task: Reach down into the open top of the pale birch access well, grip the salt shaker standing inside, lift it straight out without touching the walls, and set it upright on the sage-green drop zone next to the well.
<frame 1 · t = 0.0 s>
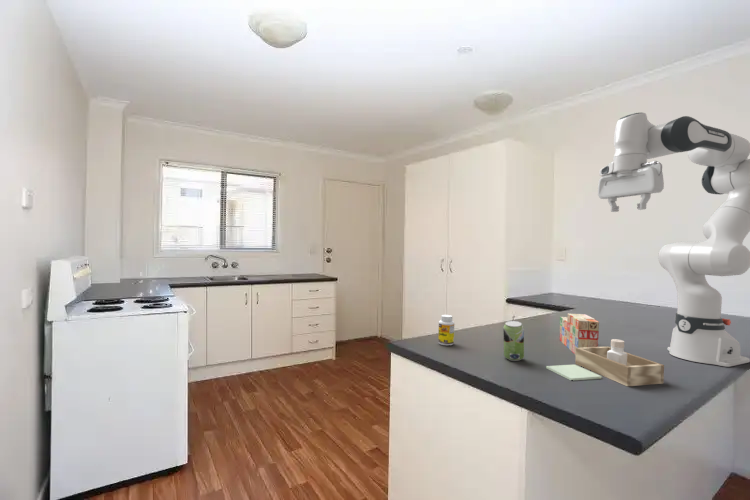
hand: (627, 210, 117), 48 cm above the counter, fingers open, 8 cm apart
stack of blocks: (576, 349, 133), on the counter
beverage can: (513, 360, 118), on the counter
access well: (616, 373, 108), on the counter
salt shaker: (616, 373, 108), resting in access well
supplement bottle: (445, 344, 134), on the counter
drop zone: (572, 373, 107), on the counter
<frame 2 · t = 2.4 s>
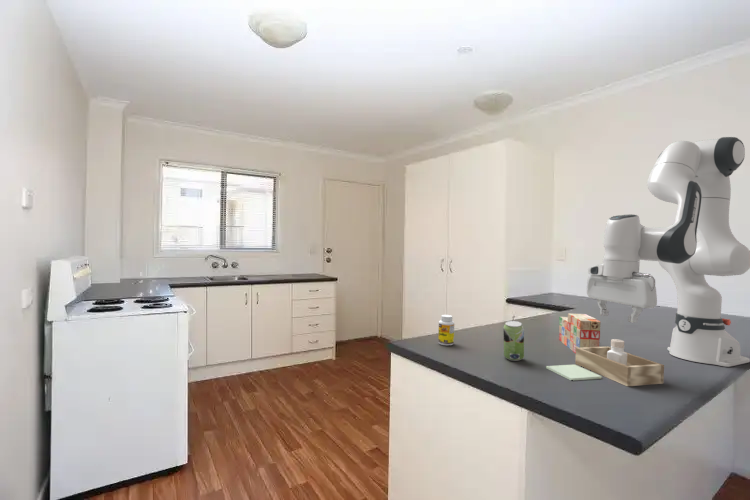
hand: (617, 318, 107), 16 cm above the counter, fingers open, 8 cm apart
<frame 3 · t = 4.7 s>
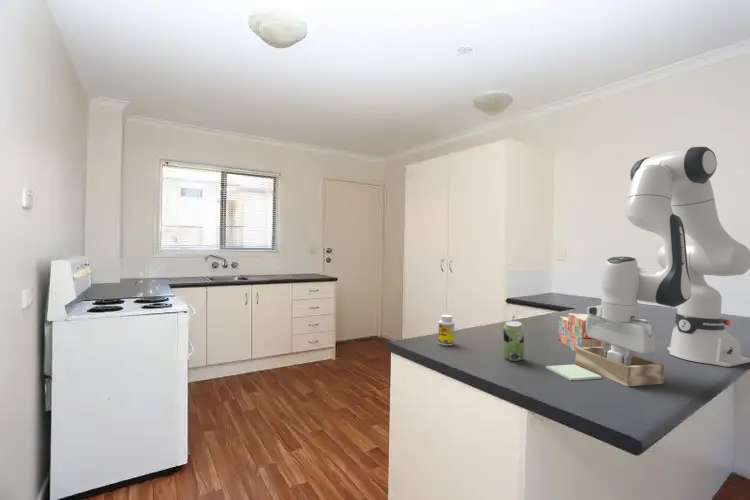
hand: (616, 360, 107), 4 cm above the counter, fingers closed on salt shaker, 4 cm apart
salt shaker: (616, 373, 108), resting in access well, touching gripper
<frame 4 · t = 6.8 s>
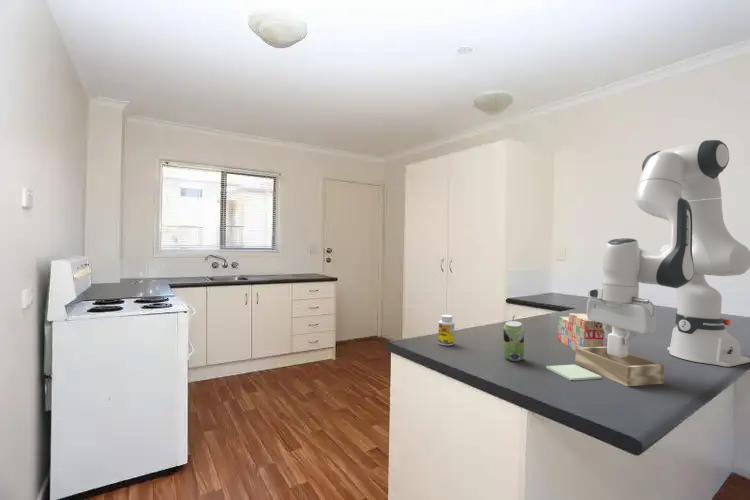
hand: (617, 342, 107), 9 cm above the counter, fingers closed on salt shaker, 4 cm apart
salt shaker: (617, 356, 107), point 5 cm above the counter, touching gripper
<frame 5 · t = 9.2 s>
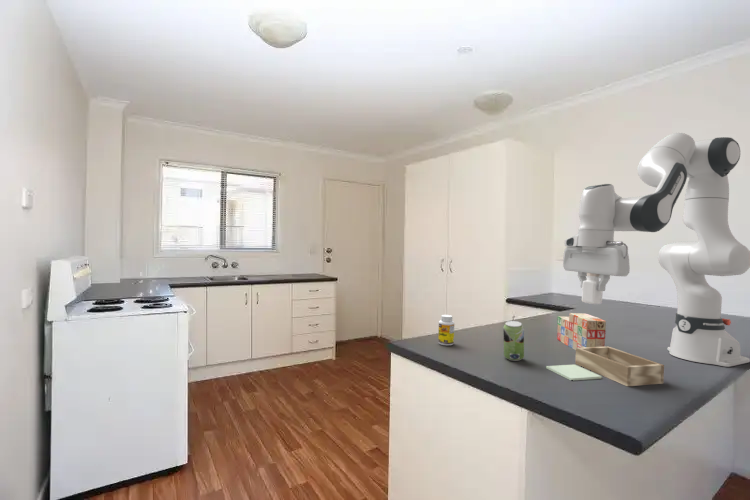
hand: (592, 289, 106), 24 cm above the counter, fingers closed on salt shaker, 4 cm apart
salt shaker: (591, 303, 106), point 20 cm above the counter, touching gripper
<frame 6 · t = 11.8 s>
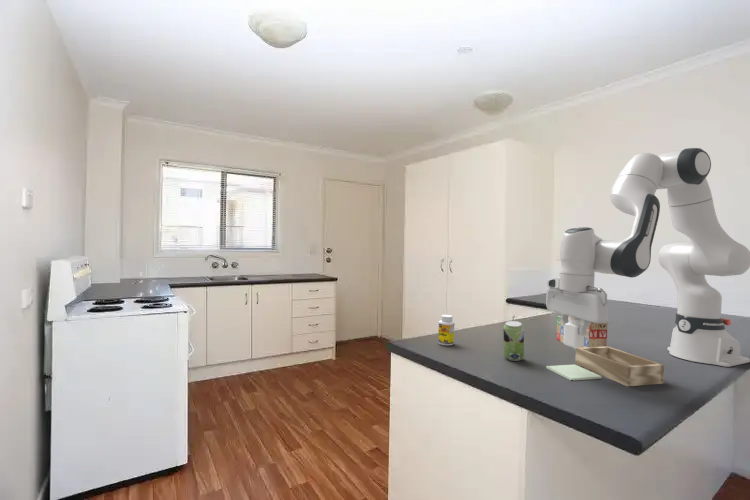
hand: (574, 332, 106), 12 cm above the counter, fingers closed on salt shaker, 4 cm apart
salt shaker: (573, 346, 106), point 8 cm above the counter, touching gripper
when the fingers open (5 cm above the counter, at t = 13.9 s): salt shaker stays where it is, resting on drop zone.
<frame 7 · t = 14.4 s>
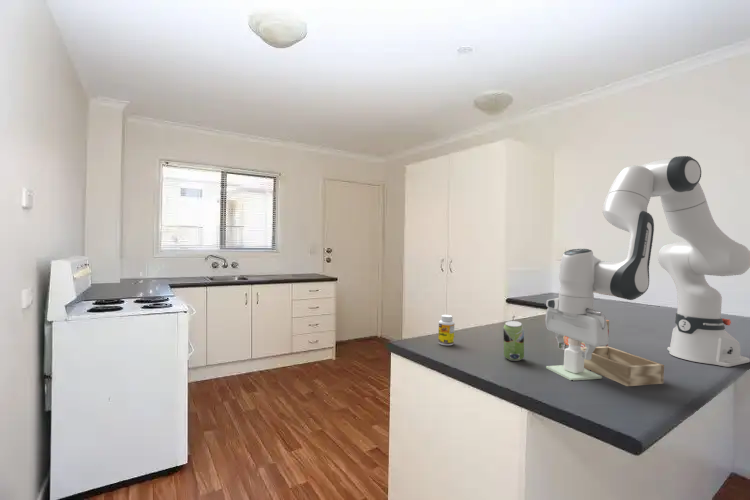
hand: (573, 353, 106), 6 cm above the counter, fingers open, 8 cm apart
salt shaker: (573, 371, 106), resting on drop zone
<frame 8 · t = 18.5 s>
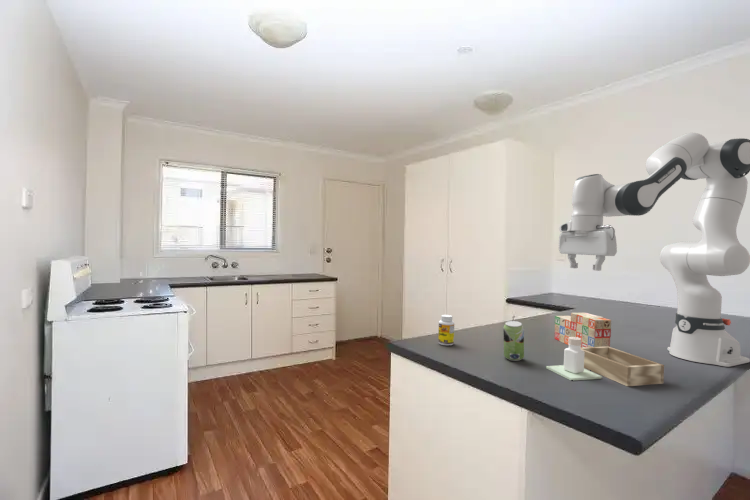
hand: (584, 269, 118), 29 cm above the counter, fingers open, 8 cm apart
at the end: salt shaker 0.2 cm off-centre on the drop zone, point 0.4 cm above the drop zone's base; salt shaker tilted 0°; salt shaker touching drop zone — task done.
